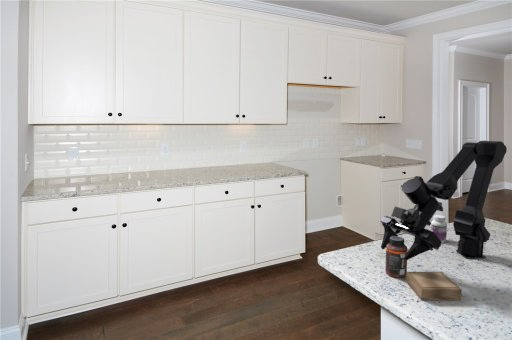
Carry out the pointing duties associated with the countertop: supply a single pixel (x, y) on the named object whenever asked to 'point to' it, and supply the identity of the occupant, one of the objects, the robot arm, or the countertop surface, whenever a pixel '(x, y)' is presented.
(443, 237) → the pill bottle
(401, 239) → the supplement bottle
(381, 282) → the countertop surface
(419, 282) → the walnut plinth
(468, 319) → the countertop surface
